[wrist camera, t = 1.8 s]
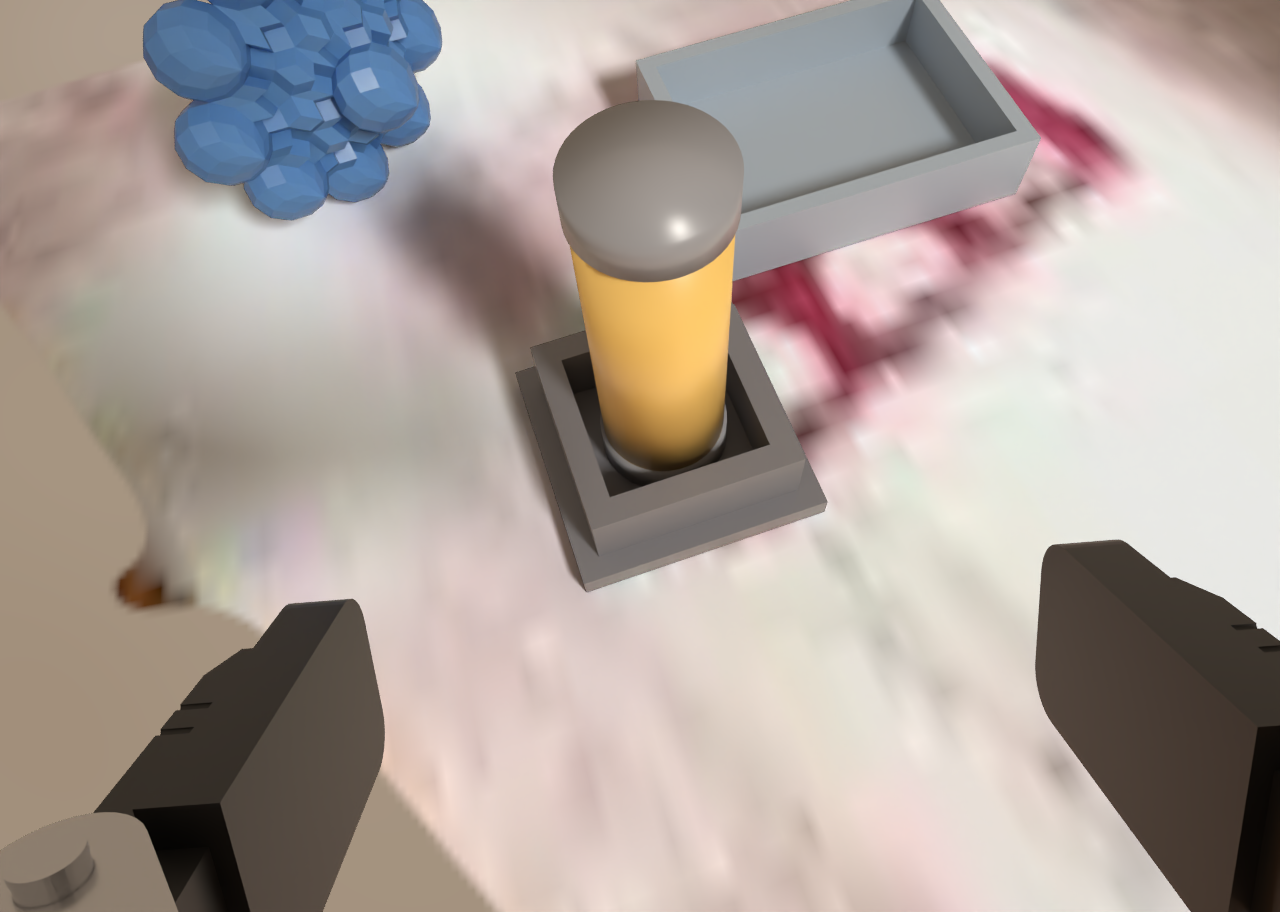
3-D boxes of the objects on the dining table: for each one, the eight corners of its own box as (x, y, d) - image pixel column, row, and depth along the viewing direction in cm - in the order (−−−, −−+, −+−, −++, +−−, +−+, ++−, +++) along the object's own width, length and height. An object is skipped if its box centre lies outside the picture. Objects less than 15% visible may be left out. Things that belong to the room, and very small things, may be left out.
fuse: (700, 367, 31) (704, 80, 20) (744, 467, 29) (773, 212, 18) (588, 402, 30) (531, 130, 20) (625, 506, 29) (584, 269, 18)
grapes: (365, 340, 33) (209, 67, 22) (226, 269, 35) (18, -14, 24) (538, 128, 37) (477, -187, 26) (406, 75, 39) (298, -241, 28)
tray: (909, 40, 38) (924, -21, 36) (1015, 193, 35) (1040, 137, 32) (639, 117, 37) (636, 60, 35) (718, 285, 33) (720, 235, 31)
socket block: (733, 317, 33) (737, 265, 30) (824, 511, 29) (837, 471, 27) (518, 384, 32) (503, 336, 29) (586, 592, 28) (575, 560, 26)
